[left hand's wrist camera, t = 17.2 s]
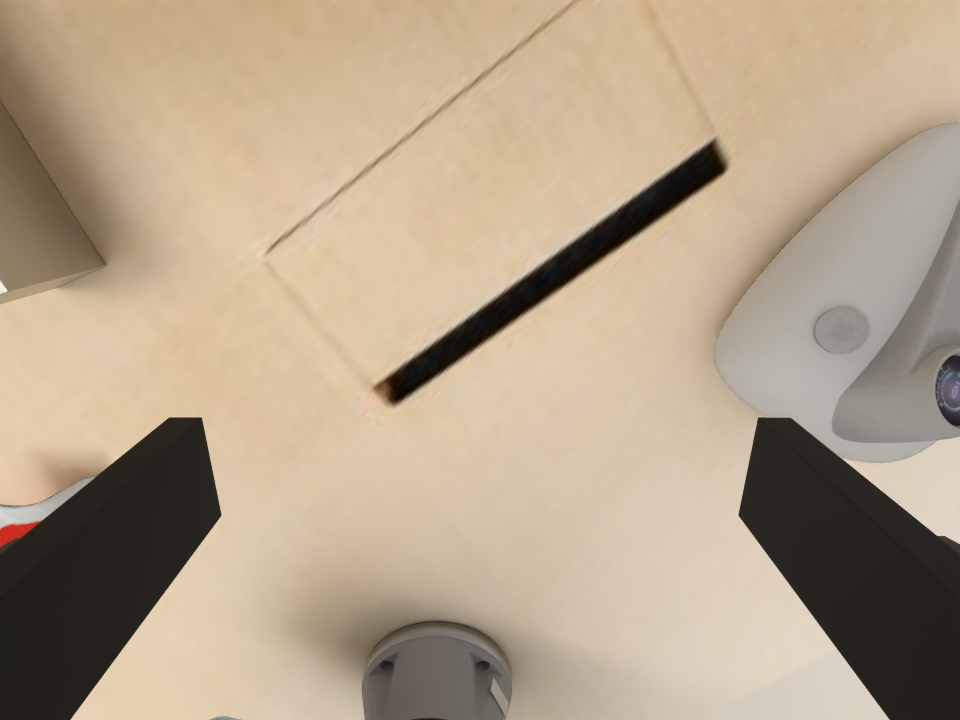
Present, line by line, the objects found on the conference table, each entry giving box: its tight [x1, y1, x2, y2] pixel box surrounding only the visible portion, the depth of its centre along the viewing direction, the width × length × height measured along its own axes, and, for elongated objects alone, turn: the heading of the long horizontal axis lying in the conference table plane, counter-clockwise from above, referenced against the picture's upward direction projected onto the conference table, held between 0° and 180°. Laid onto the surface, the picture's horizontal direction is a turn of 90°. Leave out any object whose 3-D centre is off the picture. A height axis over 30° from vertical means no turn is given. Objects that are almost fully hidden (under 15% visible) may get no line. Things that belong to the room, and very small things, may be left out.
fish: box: [0, 475, 98, 546], centre depth 45 cm, size 11×16×10 cm
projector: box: [714, 123, 960, 463], centre depth 35 cm, size 22×23×15 cm
